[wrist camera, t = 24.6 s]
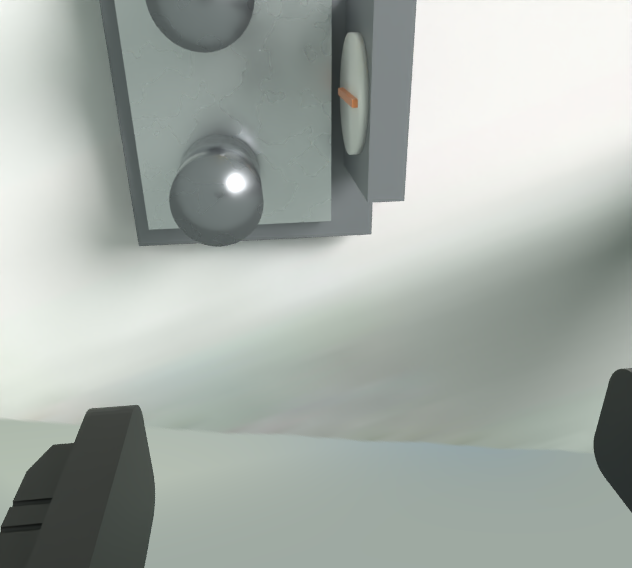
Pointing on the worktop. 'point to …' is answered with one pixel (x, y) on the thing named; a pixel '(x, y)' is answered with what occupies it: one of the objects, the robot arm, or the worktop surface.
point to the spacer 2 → (217, 191)
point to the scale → (271, 110)
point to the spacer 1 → (201, 22)
